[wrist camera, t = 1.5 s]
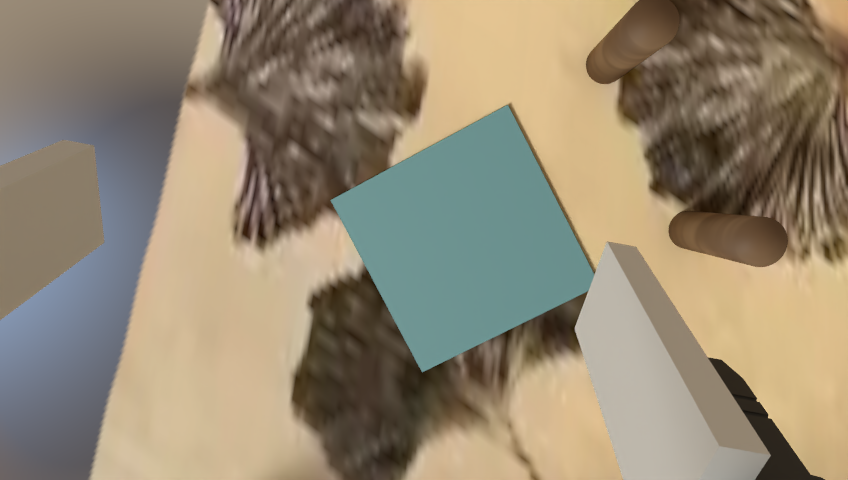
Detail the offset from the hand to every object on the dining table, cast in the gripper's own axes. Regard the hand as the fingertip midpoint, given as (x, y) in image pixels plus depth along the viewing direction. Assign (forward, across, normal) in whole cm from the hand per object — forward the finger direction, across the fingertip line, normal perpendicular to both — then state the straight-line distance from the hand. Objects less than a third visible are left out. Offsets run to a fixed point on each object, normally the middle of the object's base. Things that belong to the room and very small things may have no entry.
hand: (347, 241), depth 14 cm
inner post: (+22, -20, +6) cm, 30 cm away
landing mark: (+22, -5, +10) cm, 24 cm away
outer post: (+26, -12, -3) cm, 29 cm away
